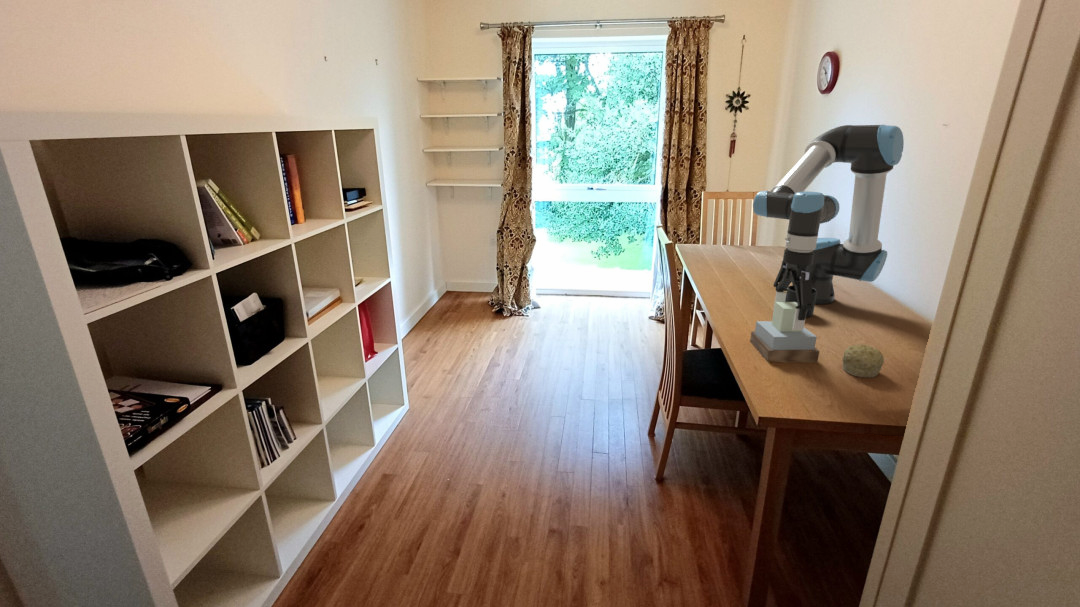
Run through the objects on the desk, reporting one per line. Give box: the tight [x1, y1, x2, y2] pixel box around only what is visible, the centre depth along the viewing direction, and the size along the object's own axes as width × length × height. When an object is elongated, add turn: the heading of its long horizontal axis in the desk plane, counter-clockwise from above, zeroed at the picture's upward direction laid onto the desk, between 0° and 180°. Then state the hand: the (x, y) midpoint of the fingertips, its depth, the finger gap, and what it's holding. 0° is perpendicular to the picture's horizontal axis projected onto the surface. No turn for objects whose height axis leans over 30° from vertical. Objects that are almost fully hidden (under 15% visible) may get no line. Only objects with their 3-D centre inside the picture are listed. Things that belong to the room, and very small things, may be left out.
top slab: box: [754, 320, 817, 350], centre depth 149 cm, size 12×12×4 cm
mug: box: [785, 285, 817, 319], centre depth 180 cm, size 9×12×9 cm
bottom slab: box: [749, 330, 820, 363], centre depth 150 cm, size 14×14×4 cm
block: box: [771, 301, 801, 332], centre depth 147 cm, size 6×6×7 cm
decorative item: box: [842, 344, 885, 378], centre depth 138 cm, size 10×10×10 cm
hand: (787, 321), depth 148 cm, fingers open, 13 cm apart
